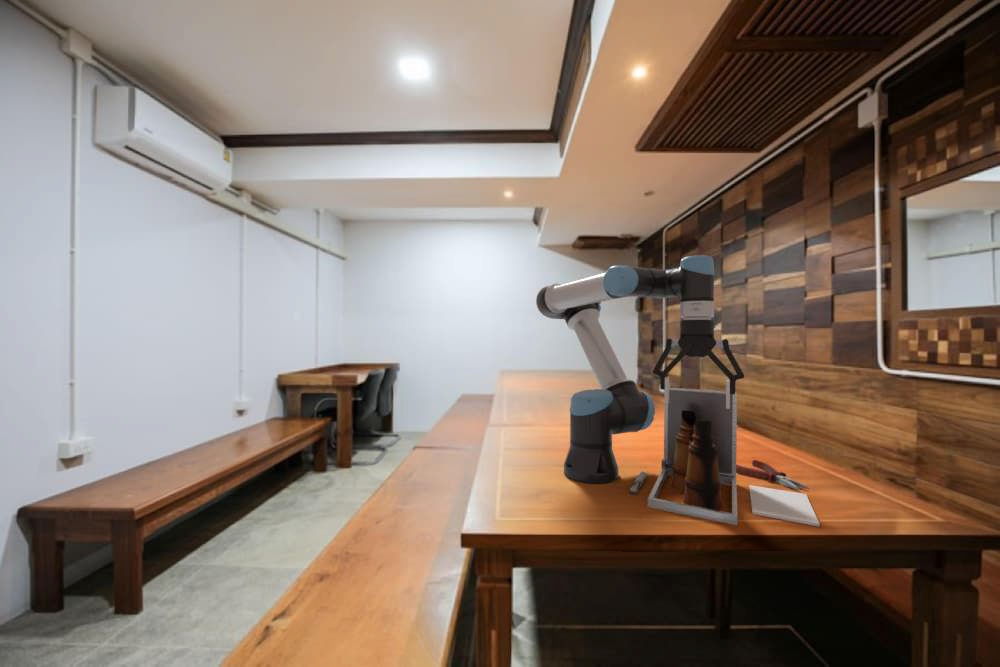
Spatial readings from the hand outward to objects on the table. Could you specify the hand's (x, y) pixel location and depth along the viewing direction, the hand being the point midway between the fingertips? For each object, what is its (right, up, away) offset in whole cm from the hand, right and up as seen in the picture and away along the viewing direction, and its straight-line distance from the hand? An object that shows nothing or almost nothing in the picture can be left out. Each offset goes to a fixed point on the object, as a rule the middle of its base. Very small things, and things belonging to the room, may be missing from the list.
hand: (696, 405), depth 102 cm
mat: (+17, -23, -5) cm, 29 cm away
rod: (-12, -23, +7) cm, 26 cm away
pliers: (+25, -23, +13) cm, 36 cm away
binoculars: (0, -23, 0) cm, 23 cm away
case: (0, -22, 0) cm, 22 cm away
